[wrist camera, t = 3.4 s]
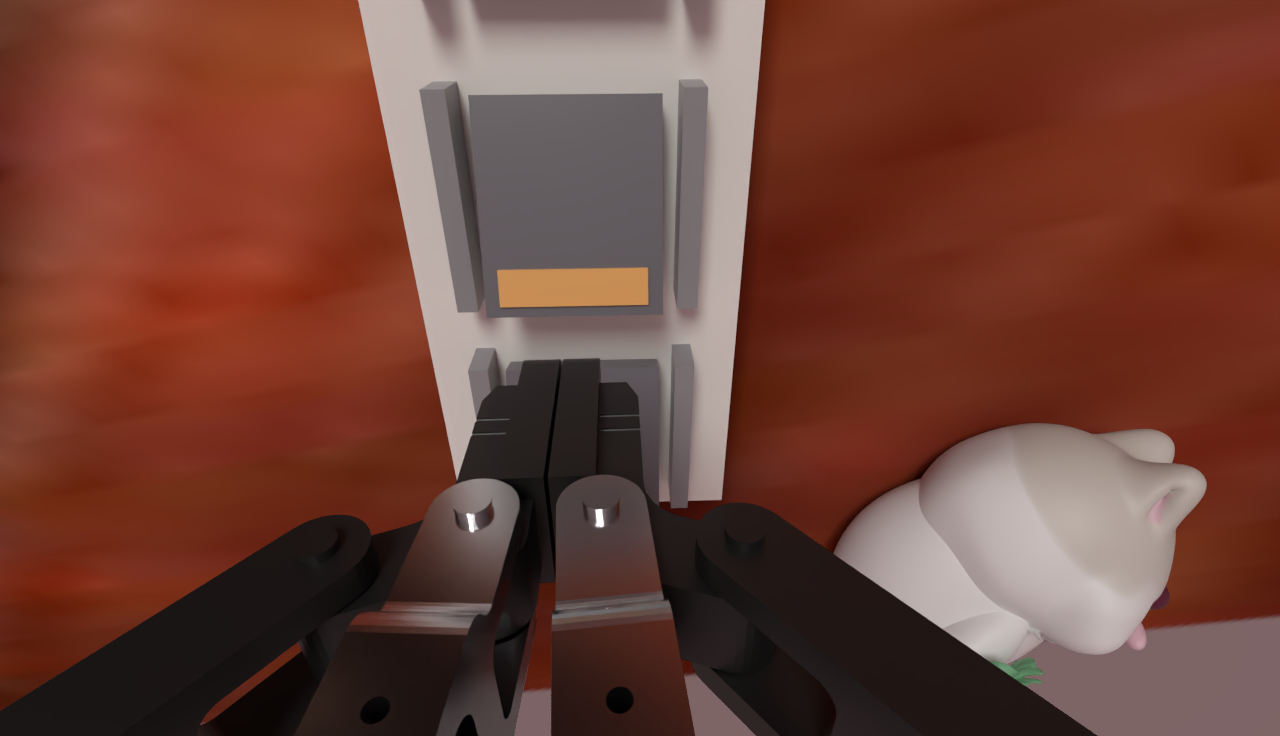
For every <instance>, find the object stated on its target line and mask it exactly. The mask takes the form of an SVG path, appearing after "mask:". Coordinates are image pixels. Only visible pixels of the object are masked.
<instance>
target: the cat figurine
mask: <svg viewBox="0 0 1280 736" xmlns="http://www.w3.org/2000/svg"><path fill="white" fill-rule="evenodd" d="M1174 453H1175V447H1174V443H1173V441H1172V440H1171V439H1170V438H1169V437H1168V436H1167V435H1166V434H1164V433H1162V432H1160V431H1157V430H1153V429H1133V430H1124V431H1117V432H1110V433H1103V434H1091V433H1088V432H1085V431H1083V430H1079V429H1076V428H1072V427H1068V426H1063V425H1057V424H1048V423H1029V424H1020V425H1013V426H1008V427H1003V428H999V429H995V430H992V431H988V432H985V433H982V434H979V435H976V436H973V437H971V438H968V439H966V440H964V441H962V442H960V443H958V444H956V445H954V446H953V447H951V448H950V449H948V450H947V451H945V452H944V453H943V454H942V455H940V456H939V457H938V458H937V459H936V460H935V461H934V462H933V463H932V464H931V465H930V467H929V468H928V469H927V470H926V472H925V473H924V474H923V476H922V477H921V479H917V480H914V481H911V482H909V483H906V484H903V485H901V486H899V487H897V488H894V489H892V490H890V491H889V492H887V493H885V494H883V495H882V496H880V497H878V498H877V499H876V500H874V501H873V502H871V503H870V504H869V505H868V506H866V507H865V508H864V509H863V510H862V511H861V512H860V513H859V514H858V515H857V516H856V517H855V518H854V519H853V520H852V522H851V523H850V524H849V526H848V527H847V528H846V530H845V531H844V533H843V534H842V536H841V538H840V540H839V541H838V543H837V546H836V548H835V550H834V553H833V554H834V555H836V556H837V557H839V558H840V559H842V560H843V561H845V562H846V563H847V564H849V565H850V566H852V567H853V568H855V569H856V570H858V571H859V572H860V573H862V574H863V575H865V576H866V577H868V578H869V579H871V580H872V581H874V582H875V583H876V584H878V585H879V586H881V587H882V588H884V589H885V590H887V591H888V592H889V593H891V594H892V595H894V596H895V597H897V598H898V599H900V600H901V601H903V602H904V603H905V604H907V605H908V606H910V607H911V608H913V609H914V610H916V611H917V612H919V613H920V614H921V615H923V616H924V617H926V618H927V619H929V620H930V621H932V622H933V623H934V624H936V625H937V626H939V627H940V628H942V629H943V630H945V631H946V632H948V633H949V634H950V635H952V636H953V637H955V638H956V639H958V640H959V641H961V642H962V643H963V644H965V645H966V646H968V647H969V648H971V649H972V650H974V651H975V652H977V653H978V654H979V655H981V656H982V657H984V658H985V659H987V660H988V661H990V662H991V663H993V664H994V665H995V666H997V667H998V668H1000V669H1001V670H1003V671H1004V672H1006V673H1007V674H1008V675H1010V676H1011V677H1013V678H1014V679H1016V680H1017V681H1019V682H1020V683H1022V684H1023V685H1024V686H1026V685H1027V684H1031V683H1042V681H1040V680H1037V679H1025V678H1022V677H1025V676H1030V675H1041V674H1044V673H1043V672H1042V670H1040V669H1039V668H1037V667H1036V664H1035V661H1034V659H1032V658H1024V659H1022V660H1020V661H1016V662H1015V663H1013V664H1012V665H1011V666H1009V665H1007V664H1008V663H1010V662H1012V661H1014V660H1016V659H1018V658H1020V657H1021V656H1023V655H1025V654H1026V653H1028V652H1029V651H1030V650H1032V649H1033V648H1035V647H1036V646H1037V645H1039V644H1040V643H1041V642H1042V641H1043V640H1044V639H1045V640H1047V641H1049V642H1051V643H1057V644H1059V645H1061V646H1063V647H1065V648H1067V649H1069V650H1072V651H1075V652H1079V653H1084V654H1093V655H1097V654H1106V653H1110V652H1112V651H1114V650H1116V649H1118V648H1119V647H1120V646H1122V645H1123V644H1124V643H1125V644H1126V645H1127V646H1128V647H1130V648H1131V649H1134V650H1142V649H1143V648H1144V647H1145V645H1146V641H1147V639H1146V633H1145V630H1144V627H1143V625H1142V623H1141V621H1142V620H1143V618H1144V617H1145V615H1146V614H1147V612H1148V611H1149V609H1161V608H1163V607H1165V606H1166V605H1167V604H1168V602H1169V592H1168V589H1167V587H1166V583H1167V581H1168V578H1169V574H1170V570H1171V566H1172V561H1173V556H1174V549H1175V529H1176V528H1177V526H1178V525H1179V524H1180V522H1181V521H1182V520H1183V519H1184V518H1185V517H1186V516H1187V515H1188V514H1189V513H1190V511H1191V510H1192V509H1193V508H1194V507H1195V506H1196V505H1197V504H1198V502H1199V501H1200V500H1201V498H1202V497H1203V495H1204V493H1205V491H1206V480H1205V477H1204V476H1203V474H1202V473H1201V472H1199V471H1198V470H1197V469H1195V468H1193V467H1190V466H1187V465H1182V464H1173V463H1172V461H1173V458H1174Z"/></svg>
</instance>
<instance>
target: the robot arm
mask: <svg viewBox="0 0 1280 736" xmlns="http://www.w3.org/2000/svg"><path fill="white" fill-rule="evenodd" d="M476 419H477V421H476V422H475V424H474V428H473V431H472V436H471V437H470V440H469V444H468V447H467V450H466V453H465V456H464V460H463V463H462V466H461V469H460V472H459V475H458V479H457V482H456V485H453V486H451V487H450V488H448V489H446V490H445V491H443V492H442V493H441V494H440V495H438V496H437V497H436V498H435V500H434V501H433V502H432V503H431V505H430V507H429V509H428V511H427V513H426V515H425V517H424V519H423V520H421V521H419V522H417V523H414V524H411V525H408V526H405V527H402V528H398V529H394V530H390V531H387V532H383V533H379V534H376V535H372V536H371V532H370V529H369V528H368V526H367V525H366V524H365V523H364V522H363V521H362V520H360V519H358V518H356V517H353V516H348V515H330V516H324V517H320V518H316V519H313V520H310V521H308V522H305V523H303V524H301V525H299V526H297V527H296V528H294V529H292V530H290V531H289V532H287V533H286V534H284V535H282V536H281V537H279V538H278V539H276V540H274V541H273V542H271V543H270V544H268V545H266V546H265V547H263V548H262V549H260V550H258V551H257V552H255V553H253V554H252V555H250V556H249V557H247V558H245V559H244V560H242V561H241V562H239V563H237V564H236V565H234V566H233V567H231V568H229V569H228V570H226V571H225V572H223V573H221V574H220V575H218V576H216V577H215V578H213V579H212V580H210V581H208V582H207V583H205V584H204V585H202V586H200V587H199V588H197V589H196V590H194V591H192V592H191V593H189V594H188V595H186V596H184V597H183V598H181V599H179V600H178V601H176V602H175V603H173V604H171V605H170V606H168V607H167V608H165V609H163V610H162V611H160V612H159V613H157V614H155V615H154V616H152V617H151V618H149V619H147V620H146V621H144V622H142V623H141V624H139V625H138V626H136V627H134V628H133V629H131V630H130V631H128V632H126V633H125V634H123V635H122V636H120V637H118V638H117V639H115V640H114V641H112V642H110V643H109V644H107V645H105V646H104V647H102V648H101V649H99V650H97V651H96V652H94V653H93V654H91V655H89V656H88V657H86V658H85V659H83V660H81V661H80V662H78V663H77V664H75V665H73V666H72V667H70V668H68V669H67V670H65V671H64V672H62V673H60V674H59V675H57V676H56V677H54V678H52V679H51V680H49V681H48V682H46V683H44V684H43V685H41V686H40V687H38V688H36V689H35V690H33V691H31V692H30V693H28V694H27V695H25V696H23V697H22V698H20V699H19V700H17V701H15V702H14V703H12V704H11V705H9V706H7V707H6V708H4V709H3V710H1V711H0V736H514V733H515V728H516V722H517V717H518V712H519V708H520V703H521V698H522V693H523V688H524V684H525V679H526V674H527V669H528V664H529V659H530V654H531V649H532V644H533V640H534V635H535V630H536V623H537V619H536V611H535V610H536V606H537V601H538V593H539V585H540V583H552V582H555V581H556V610H555V611H553V615H552V679H551V736H695V733H694V727H693V722H692V716H691V712H690V706H689V700H688V695H687V690H686V685H685V679H684V673H683V668H682V663H681V659H683V660H687V661H690V662H691V663H692V666H693V669H694V671H695V672H696V674H697V676H698V677H699V678H700V679H701V680H702V681H703V682H704V683H705V684H706V685H707V686H708V688H710V690H712V692H714V694H715V695H716V696H717V697H718V698H719V699H720V700H721V701H722V702H723V703H724V704H725V705H726V706H727V707H728V708H729V709H730V710H731V711H732V712H733V713H734V714H735V715H736V716H737V717H738V718H739V719H740V720H741V721H742V722H743V723H744V724H745V725H746V726H747V727H748V728H749V729H750V730H751V731H752V732H753V733H754V734H755V735H756V736H1097V735H1095V734H1094V733H1092V732H1091V731H1090V730H1088V729H1087V728H1085V727H1084V726H1082V725H1081V724H1079V723H1078V722H1077V721H1075V720H1074V719H1072V718H1071V717H1069V716H1068V715H1067V714H1065V713H1064V712H1062V711H1061V710H1059V709H1058V708H1056V707H1055V706H1053V705H1052V704H1050V703H1049V702H1048V701H1046V700H1045V699H1043V698H1042V697H1040V696H1039V695H1038V694H1036V693H1035V692H1033V691H1032V690H1030V689H1029V688H1027V687H1026V686H1024V685H1023V684H1022V683H1020V682H1019V681H1017V680H1016V679H1014V678H1013V677H1011V676H1010V675H1008V674H1007V673H1006V672H1004V671H1003V670H1001V669H1000V668H998V667H997V666H995V665H994V664H993V663H991V662H990V661H988V660H987V659H985V658H984V657H982V656H981V655H979V654H978V653H977V652H975V651H974V650H972V649H971V648H969V647H968V646H966V645H965V644H963V643H962V642H961V641H959V640H958V639H956V638H955V637H953V636H952V635H950V634H949V633H948V632H946V631H945V630H943V629H942V628H940V627H939V626H937V625H936V624H934V623H933V622H932V621H930V620H929V619H927V618H926V617H924V616H923V615H921V614H920V613H919V612H917V611H916V610H914V609H913V608H911V607H910V606H908V605H907V604H905V603H904V602H903V601H901V600H900V599H898V598H897V597H895V596H894V595H892V594H891V593H889V592H888V591H887V590H885V589H884V588H882V587H881V586H879V585H878V584H876V583H875V582H874V581H872V580H871V579H869V578H868V577H866V576H865V575H863V574H862V573H860V572H859V571H858V570H856V569H855V568H853V567H852V566H850V565H849V564H847V563H846V562H845V561H843V560H842V559H840V558H839V557H837V556H836V555H834V554H833V553H831V552H830V551H829V550H827V549H826V548H824V547H823V546H821V545H820V544H818V543H817V542H815V541H814V540H813V539H811V538H810V537H808V536H807V535H805V534H804V533H802V532H801V531H800V530H798V529H797V528H795V527H794V526H792V525H791V524H789V523H788V522H786V521H785V520H784V519H782V518H781V517H779V516H778V515H776V514H775V513H773V512H771V511H770V510H768V509H765V508H763V507H761V506H757V505H754V504H748V503H729V504H724V505H721V506H718V507H715V508H714V509H712V510H710V511H709V512H707V513H706V514H705V515H704V516H703V517H702V518H701V520H695V519H691V518H686V517H682V516H678V515H675V514H673V513H670V512H668V511H666V510H664V509H662V508H661V507H659V506H658V505H657V504H655V503H654V502H653V501H652V499H651V498H650V497H649V495H648V494H647V492H646V490H645V487H644V480H643V464H642V448H641V433H640V417H639V401H638V396H637V394H636V393H635V392H634V391H633V389H632V388H631V387H630V386H629V384H628V383H627V382H608V383H601V366H600V358H584V359H563V364H562V361H561V359H551V360H524V361H523V364H522V368H521V372H520V377H519V381H518V385H506V386H497V387H496V388H495V389H494V390H492V391H491V392H490V393H489V394H488V395H487V396H486V397H485V398H484V399H483V400H482V402H481V405H480V409H479V412H478V415H477V418H476ZM297 642H298V644H299V646H300V648H301V650H302V651H301V652H300V653H299V654H297V655H296V656H295V657H294V658H292V659H291V660H290V661H288V662H287V663H286V664H284V665H283V666H282V667H280V668H279V669H278V670H277V671H275V672H274V673H273V674H271V675H270V676H269V677H267V678H266V679H265V680H264V681H262V682H261V683H260V684H258V685H257V686H256V687H254V688H253V689H252V690H251V691H249V692H248V693H247V694H245V695H244V696H243V697H241V698H240V699H239V700H238V701H236V702H235V703H234V704H232V705H231V706H230V707H228V708H227V709H226V710H224V711H223V712H222V713H221V714H219V715H218V716H217V717H215V718H214V719H212V720H211V721H209V722H207V723H205V724H202V725H200V723H201V721H202V720H203V718H204V717H205V715H206V714H207V713H208V712H209V710H210V709H211V708H212V707H213V706H214V705H215V704H217V703H218V702H219V701H220V700H221V699H223V698H224V697H225V696H227V695H228V694H229V693H231V692H232V691H233V690H235V689H236V688H237V687H239V686H240V685H241V684H243V683H244V682H245V681H247V680H248V679H249V678H251V677H252V676H253V675H255V674H256V673H257V672H259V671H260V670H261V669H263V668H264V667H265V666H267V665H268V664H269V663H271V662H272V661H273V660H275V659H276V658H277V657H278V656H280V655H281V654H282V653H284V652H285V651H286V650H288V649H289V648H290V647H292V646H293V645H294V644H296V643H297Z"/></svg>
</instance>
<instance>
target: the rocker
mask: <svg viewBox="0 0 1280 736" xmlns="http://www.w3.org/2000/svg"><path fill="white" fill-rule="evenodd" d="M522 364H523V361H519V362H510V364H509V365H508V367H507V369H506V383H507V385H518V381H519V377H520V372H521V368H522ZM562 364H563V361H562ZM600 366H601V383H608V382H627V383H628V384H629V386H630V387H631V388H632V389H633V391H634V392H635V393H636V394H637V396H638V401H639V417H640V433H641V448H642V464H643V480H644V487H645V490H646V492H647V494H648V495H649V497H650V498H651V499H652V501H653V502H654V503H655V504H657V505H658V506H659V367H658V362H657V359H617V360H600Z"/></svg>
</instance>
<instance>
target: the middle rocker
mask: <svg viewBox="0 0 1280 736" xmlns="http://www.w3.org/2000/svg"><path fill="white" fill-rule="evenodd" d="M468 100H469V112H470V124H471V136H472V148H473V160H474V172H475V184H476V196H477V208H478V220H479V232H480V244H481V256H482V268H483V280H484V292H485V304H486V316H487V318H510V317H564V316H619V315H663V93H647V94H533V95H468Z"/></svg>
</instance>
